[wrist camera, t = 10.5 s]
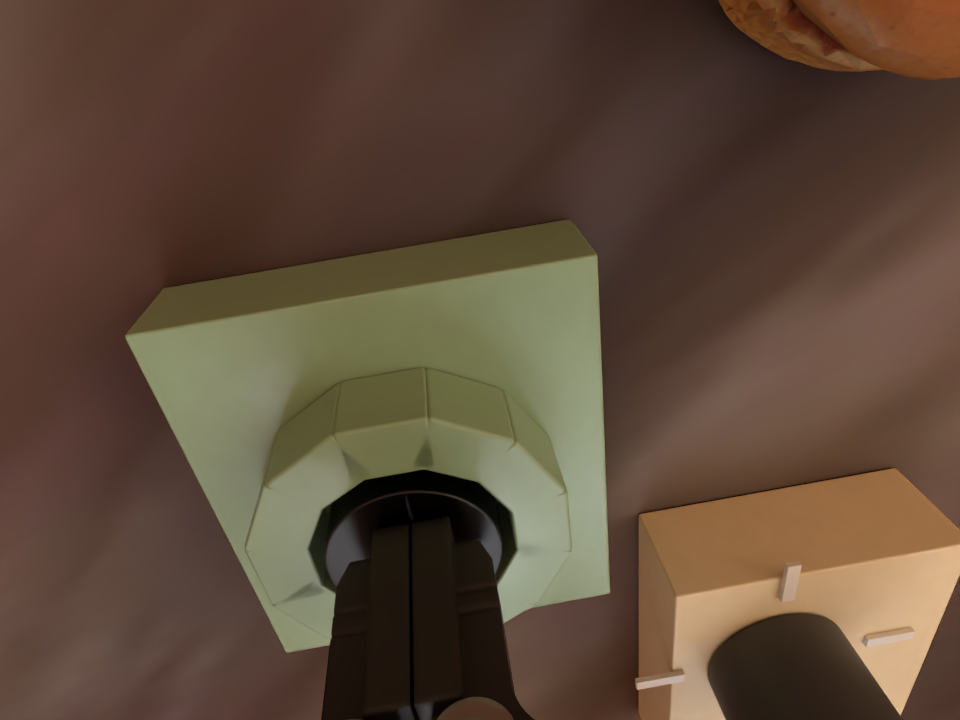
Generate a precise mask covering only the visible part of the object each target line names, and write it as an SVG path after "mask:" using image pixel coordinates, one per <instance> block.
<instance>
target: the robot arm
mask: <svg viewBox="0 0 960 720" xmlns="http://www.w3.org/2000/svg"><path fill="white" fill-rule="evenodd" d="M331 635H332V639H331V640H330V648H329V657H328V666H327V675H326V683H325V692H324V701H323V710H322V718H321V720H534V719H533V718H532V717H531V716H530V715H528V714H527V713H526V712H525V710H524V709H523V708H522V707H521V705H520V704H519V702H518V700H517V698H516V696H515V692H514V686H513V680H512V673H511V667H510V661H509V654H508V648H507V642H506V635H505V629H504V623H503V616H502V610H501V604H500V599H499V593H498V588H497V582H496V577H495V571H494V566H493V560H492V557H491V556H490V555H489V553H488V552H487V550H486V549H485V548H484V546H483V545H482V543H481V542H480V541H479V539H476V540H470V541H464V542H459V543H455V541H454V536H453V532H452V528H451V523H450V519H449V516H448V517H442V518H436V519H431V520H425V521H419V522H414V523H412V525H411V524H410V523H409V524H403V525H398V526H392V527H386V528H381V529H375V530H373V533H372V544H371V558H370V559H364V560H358V561H353V562H350V563H349V564H348V566H347V568H346V570H345V572H344V574H343V575H342V577H341V579H340V581H339V583H338V585H337V587H336V596H335V605H334V617H333V622H332V631H331Z"/></svg>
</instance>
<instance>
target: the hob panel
mask: <svg viewBox="0 0 960 720" xmlns="http://www.w3.org/2000/svg"><path fill="white" fill-rule="evenodd" d="M959 575H960V530H959V529H958V528H957V527H956V526H955V525H954V524H953V523H952V522H951V521H950V520H949V519H948V518H947V517H946V516H945V515H944V514H943V513H942V512H941V511H939V510H938V509H937V508H936V507H935V506H934V505H933V504H932V503H931V502H930V501H929V500H928V499H927V498H926V497H925V496H924V495H923V494H922V493H921V492H920V491H919V490H918V489H917V488H915V487H914V486H913V485H912V484H911V483H910V482H909V481H908V480H907V479H906V478H905V477H904V476H903V475H902V474H901V473H900V472H899V471H898V470H897V469H895V468H892V469H887V470H881V471H876V472H870V473H865V474H859V475H854V476H848V477H843V478H837V479H831V480H826V481H820V482H815V483H809V484H804V485H798V486H793V487H787V488H782V489H776V490H771V491H765V492H760V493H754V494H748V495H743V496H737V497H732V498H726V499H721V500H715V501H710V502H704V503H699V504H693V505H688V506H682V507H677V508H671V509H665V510H660V511H654V512H649V513H643V514H640V515H639V678H635V686H636V689H637V690H639V714H640V717H641V720H726V719H725V717H724V715H723V713H722V710H721V708H720V706H719V704H718V701H717V699H716V697H715V695H714V692H713V690H712V688H711V686H710V683H709V681H708V674H707V673H708V666H709V663H710V661H711V659H712V657H713V656H714V654H715V653H716V651H717V650H718V649H719V648H720V647H721V646H722V645H723V644H724V643H725V642H726V641H727V640H729V639H730V638H731V637H733V636H734V635H736V634H737V633H739V632H740V631H742V630H744V629H746V628H748V627H750V626H752V625H754V624H756V623H759V622H761V621H764V620H767V619H770V618H774V617H778V616H783V615H789V614H814V615H819V616H822V617H825V618H828V619H829V620H831V621H833V622H834V623H835V624H837V625H838V626H839V628H840V629H841V630H842V632H843V633H844V635H845V636H846V638H847V639H848V641H849V642H850V643H851V645H852V646H853V648H854V649H855V651H856V652H857V654H858V655H859V656H860V658H861V659H862V661H863V662H864V664H865V665H866V667H867V668H868V669H869V671H870V672H871V674H872V675H873V677H874V678H875V680H876V681H877V682H878V684H879V685H880V687H881V688H882V690H883V691H884V693H885V694H886V696H887V697H888V698H889V700H890V701H891V703H892V704H893V706H894V707H895V709H896V710H897V711H898V713H899V714H900V716H901V713H902V711H903V709H904V706H905V704H906V701H907V699H908V697H909V694H910V692H911V689H912V687H913V685H914V682H915V680H916V678H917V675H918V673H919V670H920V668H921V666H922V663H923V661H924V658H925V656H926V654H927V651H928V649H929V647H930V644H931V642H932V639H933V637H934V635H935V632H936V630H937V627H938V625H939V623H940V620H941V618H942V615H943V613H944V611H945V608H946V606H947V604H948V601H949V599H950V596H951V594H952V592H953V589H954V587H955V584H956V582H957V580H958V577H959Z"/></svg>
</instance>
